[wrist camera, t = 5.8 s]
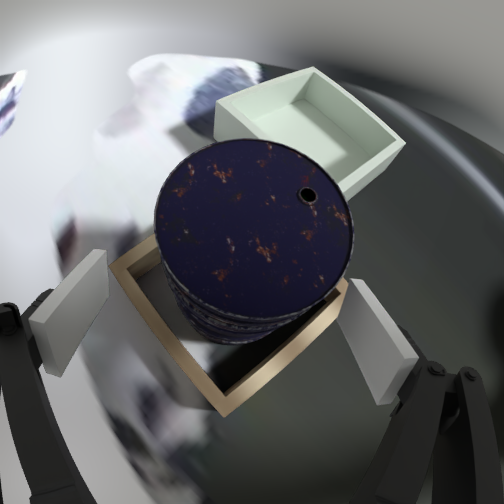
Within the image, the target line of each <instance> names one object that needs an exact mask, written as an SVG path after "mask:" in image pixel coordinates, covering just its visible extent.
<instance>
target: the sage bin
mask: <svg viewBox="0 0 504 504" xmlns="http://www.w3.org/2000/svg"><path fill="white" fill-rule="evenodd" d="M213 138H214V139H215V140H216V141H217V142H220V141H224V140H228V139H237V138H257V139H264V140H270V141H274V142H278V143H281V144H284V145H287V146H289V147H292V148H294V149H296V150H298V151H300V152H302V153H303V154H305V155H307V156H309V157H310V158H311V159H313V160H314V161H315V162H317V163H318V164H319V165H320V166H321V167H323V168H324V169H325V170H326V171H327V172H328V173H329V174H330V176H331V177H332V178H333V179H334V180H335V182H336V183H337V184H338V186H339V187H340V189H341V191H342V192H343V194H344V196H345V198H346V200H347V201H348V200H349V199H351V198H352V197H353V196H354V195H355V194H357V193H358V192H359V191H360V190H361V189H363V188H364V187H365V186H366V185H367V184H369V183H370V182H371V181H372V180H374V179H375V178H376V177H377V176H378V175H380V174H381V173H382V172H383V171H384V170H385V169H386V168H387V166H388V165H389V164H390V163H391V161H392V160H393V159H394V158H395V156H396V155H397V154H398V153H399V151H400V150H401V149H402V148H403V146H404V145H405V144H406V143H405V142H404V141H403V140H402V139H401V138H400V137H399V136H398V135H397V134H396V133H395V132H394V131H393V130H392V129H391V128H389V127H388V126H387V125H386V124H385V123H384V122H383V121H382V120H381V119H379V118H378V117H377V116H376V115H375V114H374V113H373V112H371V111H370V110H369V109H368V108H367V107H365V106H364V105H363V104H362V103H361V102H359V101H358V100H357V99H356V98H355V97H353V96H352V95H351V94H349V93H348V92H347V91H346V90H344V89H343V88H342V87H340V86H339V85H338V84H336V83H335V82H334V81H332V80H331V79H330V78H328V77H327V76H325V75H324V74H323V73H321V72H320V71H319V70H317V69H316V68H314V67H310V68H307V69H304V70H300V71H297V72H294V73H290V74H287V75H284V76H281V77H278V78H275V79H272V80H269V81H266V82H263V83H260V84H258V85H255V86H252V87H250V88H247V89H244V90H242V91H239V92H236V93H234V94H231V95H229V96H226V97H224V98H222V99H219V100H217V101H216V108H215V122H214V136H213Z"/></svg>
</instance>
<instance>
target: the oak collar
mask: <svg viewBox="0 0 504 504" xmlns="http://www.w3.org/2000/svg"><path fill="white" fill-rule="evenodd" d="M160 262H161V257H160V252H159V249H158V246H157V243H156V240H155V233H154V234H152V235H151V236H149V237H148V238H146V239H145V240H143V241H142V242H141V243H139V244H138V245H136V246H135V247H134V248H132V249H131V250H129V251H128V252H127V253H125V254H124V255H122V256H121V257H120V258H118V259H117V260H115V261H114V262H113V263H111V264H110V265H109V268H110V269H111V271H112V273H113V274H114V276H115V277H116V279H117V281H118V282H119V284H120V285H121V287H122V288H123V290H124V291H125V293H126V294H127V296H128V297H129V299H130V300H131V302H132V303H133V305H134V306H135V308H136V309H137V310H138V312H139V313H140V315H141V316H142V318H143V319H144V320H145V322H146V323H147V325H148V326H149V327H150V329H151V330H152V331H153V333H154V334H155V335H156V337H157V338H158V339H159V341H160V342H161V343H162V345H163V346H164V347H165V349H166V350H167V351H168V353H169V354H170V355H171V356H172V358H173V359H174V360H175V361H176V363H177V364H178V365H179V366H180V368H181V369H182V370H183V371H184V373H185V374H186V375H187V376H188V377H189V379H190V380H191V381H192V382H193V383H194V385H195V386H196V387H197V388H198V389H199V390H200V392H201V393H202V394H203V395H204V396H205V397H206V398H207V400H208V401H209V402H210V403H211V404H212V405H213V406H214V407H215V409H216V410H217V411H218V412H219V413H220V414H221V415H222V416H223V417H226V416H227V415H228V414H229V413H231V412H232V411H233V410H234V409H236V408H237V407H238V406H239V405H241V404H242V403H243V402H244V401H246V400H247V399H248V398H249V397H250V396H252V395H253V394H254V393H255V392H256V391H258V390H259V389H260V388H261V387H262V386H264V385H265V384H266V383H267V382H268V381H269V380H271V379H272V378H273V377H274V376H275V375H276V374H277V373H279V372H280V371H281V370H282V369H283V368H284V367H285V366H286V365H288V364H289V363H290V362H291V361H292V360H293V359H294V358H295V357H296V356H297V355H298V354H300V353H301V352H302V351H303V350H304V349H305V348H306V347H307V346H308V345H309V344H310V343H311V342H312V341H313V340H314V339H315V338H316V337H317V336H319V335H320V334H321V333H322V332H323V331H324V330H325V329H326V328H327V327H328V326H329V325H330V324H331V323H332V322H333V321H334V320H335V319H336V318H337V317H338V314H339V312H340V309H341V306H342V303H343V300H344V297H345V294H346V291H347V287H348V283H347V282H346V280H345V279H344V278H343V277H342V279H341V280H340V282H339V283H338V285H337V286H336V287H335V288H334V289H333V290H332V291H331V292H330V293H329V294H328V295H327V296H326V297H325V298H324V300H325V301H326V302H327V303H326V304H325V305H323V306H322V307H321V308H320V309H319V310H318V311H317V312H316V313H315V314H314V315H313V316H312V317H311V318H310V319H309V320H308V321H307V322H305V323H304V324H303V325H302V326H301V327H300V328H299V329H298V330H297V331H296V332H295V333H294V334H292V335H291V336H290V337H289V338H288V339H287V340H286V341H285V342H284V343H282V344H281V345H280V346H279V347H278V348H277V349H276V350H274V351H273V352H272V353H271V354H270V355H269V356H268V357H266V358H265V359H264V360H263V361H262V362H261V363H259V364H258V365H257V366H256V367H255V368H253V369H252V370H251V371H250V372H249V373H247V374H246V375H245V376H244V377H243V378H241V379H240V380H239V381H238V382H236V383H235V384H234V385H233V386H232V387H230V388H229V389H228V390H227V391H225V392H224V393H223V392H222V391H221V390H220V389H219V388H218V387H217V385H216V384H215V383H214V382H213V381H212V380H211V378H210V377H209V376H208V375H207V374H206V373H205V371H204V370H203V369H202V368H201V367H200V365H199V364H198V363H197V362H196V361H195V359H194V358H193V357H192V356H191V354H190V353H189V352H188V351H187V350H186V348H185V347H184V346H183V344H182V343H181V342H180V341H179V339H178V338H177V337H176V336H175V334H174V333H173V332H172V330H171V329H170V328H169V326H168V325H167V324H166V322H165V321H164V320H163V318H162V317H161V316H160V314H159V313H158V312H157V310H156V309H155V308H154V306H153V305H152V303H151V302H150V301H149V299H148V298H147V296H146V295H145V294H144V292H143V291H142V289H141V288H140V286H139V285H138V284H137V282H136V281H135V280H137V279H138V278H139V277H141V276H142V275H144V274H145V273H146V272H148V271H149V270H150V269H152V268H153V267H155V266H156V265H157V264H159V263H160Z"/></svg>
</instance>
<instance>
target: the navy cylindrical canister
mask: <svg viewBox="0 0 504 504" xmlns="http://www.w3.org/2000/svg"><path fill="white" fill-rule="evenodd" d="M154 232H155V240H156V243H157V246H158V249H159V252H160V257H161V263H162V266H163V269H164V272H165V275H166V277H167V279H168V282H169V285H170V287H171V289H172V291H173V293H174V295H175V298H176V301H177V304H178V306H179V308H180V310H181V311H182V313H183V315H184V316H185V318H186V319H187V321H188V322H189V323H190V324H191V326H192V327H193V328H194V329H195V330H196V331H197V332H198V333H199V334H200V335H202V336H204V337H205V338H207V339H209V340H211V341H213V342H216V343H219V344H223V345H242V344H246V343H250V342H254V341H256V340H259V339H261V338H263V337H265V336H267V335H268V334H270V333H271V332H273V331H274V330H275V329H278V328H280V327H282V326H284V325H286V324H288V323H289V322H291V321H293V320H295V319H296V318H298V317H299V316H301V315H302V314H304V313H305V312H307V311H308V310H309V309H310V308H311V307H313V306H314V305H315V304H317V303H318V302H320V301H321V300H323V299H324V298H325V297H326V296H327V295H328V294H329V293H330V292H331V291H332V290H333V289H334V288H335V287H336V286H337V285H338V283H339V282H340V280H341V279H342V277H343V276H344V274H345V272H346V270H347V268H348V265H349V263H350V260H351V256H352V252H353V248H354V225H353V219H352V215H351V211H350V207H349V205H348V203H347V200H346V198H345V196H344V194H343V192H342V191H341V189H340V187H339V186H338V184H337V183H336V182H335V180H334V179H333V178H332V177H331V176H330V174H329V173H328V172H327V171H326V170H325V169H324V168H323V167H321V166H320V165H319V164H318V163H317V162H315V161H314V160H313V159H311V158H310V157H309V156H307V155H305V154H303V153H302V152H300V151H298V150H296V149H294V148H292V147H289V146H287V145H284V144H281V143H278V142H274V141H270V140H264V139H257V138H237V139H228V140H224V141H220V142H216V143H213V144H210V145H208V146H205V147H203V148H201V149H199V150H197V151H195V152H194V153H192V154H190V155H189V156H188V157H187V158H185V159H184V160H183V161H181V162H180V163H179V164H178V165H177V166H176V167H175V169H174V170H173V171H172V172H171V173H170V174H169V176H168V177H167V179H166V181H165V182H164V184H163V186H162V188H161V190H160V192H159V195H158V198H157V202H156V206H155V210H154Z"/></svg>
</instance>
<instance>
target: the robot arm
mask: <svg viewBox="0 0 504 504" xmlns="http://www.w3.org/2000/svg"><path fill="white" fill-rule="evenodd" d="M109 296H110V293H109V281H108V266H107V250H101V249H93V250H92V251H91V252H90V253H89V254H88V255H87V256H86V257H85V258H84V259H83V260H82V261H81V262H80V263H79V264H78V265H77V266H76V267H75V268H74V269H73V270H72V271H71V272H70V273H69V275H68V276H67V277H66V278H65V279H64V280H63V281H62V282H61V283H60V284H59V285H58V286H57V287H56V288H55V289H48V290H46V291H45V292H43V293H41V294H40V296H38V298H37V299H36V301H34V302H33V303H32V304H31V306H29V307H28V308H27V310H26V311H25V312H24V313H23V314H22V315H21V316H20V313H19V309H18V307H17V305H15V304H13V303H9V302H8V303H2V304H0V394H1V386H2V392H3V397H4V402H5V407H6V412H7V417H8V421H9V425H10V429H11V433H12V437H13V440H14V444H15V447H16V450H17V454H18V457H19V460H20V463H21V466H22V469H23V471H24V474H25V477H26V480H27V482H28V485H29V487H30V490H31V494H32V496H31V497H30V498H29V499H30V504H97V503H96V501H95V499H94V497H93V496H92V494H91V492H90V491H89V489H88V487H87V485H86V483H85V482H84V480H83V478H82V476H81V475H80V472H79V470H78V468H77V466H76V464H75V462H74V460H73V458H72V456H71V454H70V452H69V450H68V447H67V445H66V443H65V441H64V438H63V436H62V434H61V431H60V429H59V426H58V424H57V421H56V419H55V416H54V413H53V411H52V408H51V406H50V402H49V400H48V397H47V394H46V391H45V387H44V384H43V381H42V378H41V374H40V372H39V367H40V366H41V364H42V363H43V365H44V369H45V371H46V373H49V374H52V375H55V376H58V377H61V376H62V374H63V373H64V371H65V369H66V367H67V365H68V364H69V362H70V360H71V358H72V356H73V355H74V353H75V351H76V349H77V348H78V346H79V344H80V343H81V341H82V339H83V337H84V336H85V334H86V332H87V331H88V329H89V327H90V326H91V324H92V323H93V321H94V319H95V318H96V316H97V314H98V313H99V311H100V310H101V308H102V307H103V305H104V303H105V302H106V300H107V299H108V297H109ZM337 322H338V324H339V326H340V328H341V330H342V332H343V334H344V336H345V338H346V340H347V342H348V344H349V346H350V348H351V350H352V352H353V355H354V357H355V359H356V361H357V363H358V365H359V367H360V369H361V371H362V374H363V376H364V378H365V380H366V382H367V384H368V387H369V389H370V391H371V393H372V395H373V398H374V400H375V402H376V404H377V405H383V404H390V403H392V401H393V400H394V398H395V397H396V395H398V396H399V398H400V401H399V403H398V404H397V406H396V407H395V409H394V410H393V412H392V413H391V414H390V417H392V419H391V421H390V423H389V426H388V428H387V430H386V433H385V435H384V437H383V439H382V442H381V444H380V446H379V448H378V450H377V452H376V454H375V456H374V459H373V461H372V463H371V465H370V466H369V468H368V470H367V472H366V474H365V476H364V478H363V480H362V482H361V483H360V485H359V487H358V489H357V491H356V492H355V494H354V496H353V497H352V499H351V501H350V502H349V504H416V501H417V499H418V496H419V493H420V490H421V487H422V484H423V481H424V478H425V475H426V472H427V469H428V466H429V462H430V459H431V455H432V451H433V448H434V468H433V491H432V504H504V498H503V485H502V474H501V466H500V459H499V452H498V446H497V440H496V435H495V430H494V425H493V420H492V416H491V412H490V408H489V404H488V400H487V396H486V392H485V388H484V385H483V381H482V378H481V376H480V374H479V373H478V372H477V371H476V370H474V369H473V368H471V367H466V366H465V367H462V368H461V369H460V371H459V372H458V374H457V375H456V374H450V373H447V371H446V369H445V368H444V367H443V366H442V365H441V364H439V363H437V362H434V361H428V360H427V359H426V357H425V356H424V354H423V353H422V352H421V350H420V349H419V347H418V346H417V345H415V342H414V340H413V339H412V338H411V336H410V335H409V334H408V332H407V331H406V330H405V329H403V328H402V327H401V326H400V325H396V324H395V323H394V321H393V320H392V319H391V317H390V316H389V314H388V313H387V312H386V310H385V309H384V308H383V306H382V305H381V304H380V302H379V301H378V300H377V298H376V297H375V296H374V294H373V293H372V292H371V290H370V289H369V288H368V287H367V285H366V284H365V283H364V281H363V280H360V279H350V281H349V284H348V287H347V291H346V294H345V297H344V300H343V303H342V306H341V309H340V312H339V314H338V317H337ZM0 504H3V497H2V489H1V480H0Z"/></svg>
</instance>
